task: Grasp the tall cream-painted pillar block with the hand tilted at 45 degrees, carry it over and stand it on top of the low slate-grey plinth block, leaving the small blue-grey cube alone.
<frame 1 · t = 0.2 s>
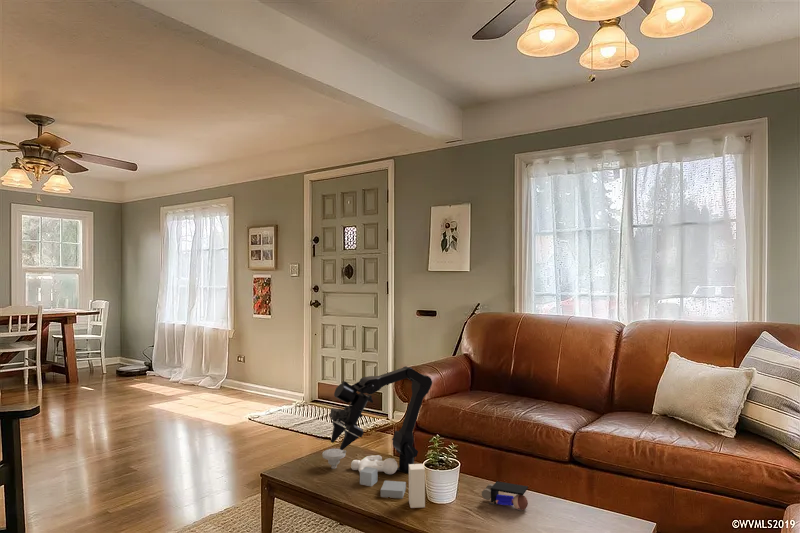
hand: (336, 446, 190), 15 cm above the table, tool tilted 30°, fingers open, 9 cm apart
pillar: (416, 504, 173), on the table
figure: (374, 472, 203), on the table
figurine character: (505, 506, 172), on the table
showerhead: (334, 468, 207), on the table
plinth: (393, 493, 183), on the table
cube: (368, 483, 191), on the table
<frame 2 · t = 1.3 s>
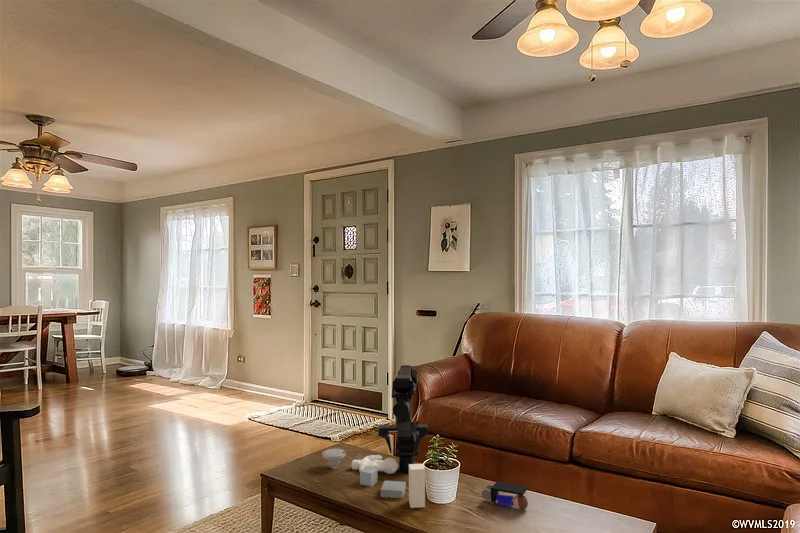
hand: (403, 453, 187), 13 cm above the table, tool pointing down, fingers open, 9 cm apart
nothing on the table moved.
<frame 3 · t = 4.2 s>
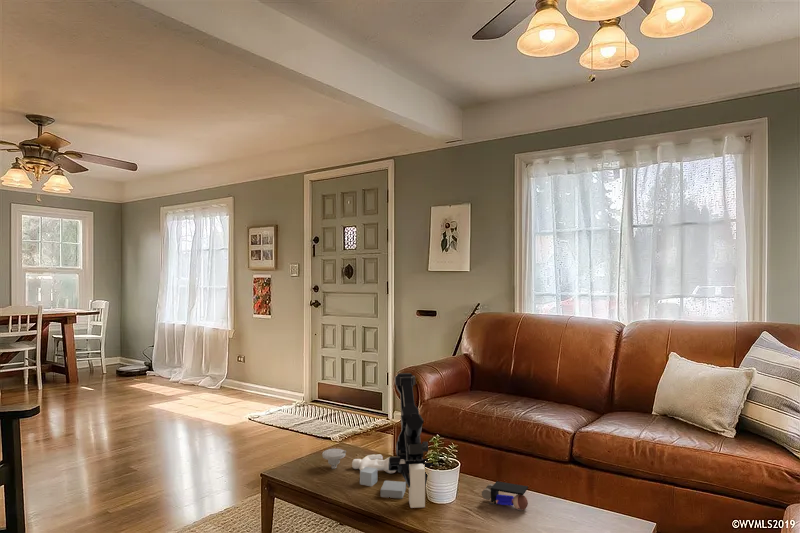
hand: (417, 486, 172), 7 cm above the table, tool tilted 45°, fingers closed on pillar, 5 cm apart
pillar: (416, 504, 173), on the table, touching gripper
when the fingers open (10 cm above the table, at t = 7.0 s): pillar drops 1 cm, resting on plinth.
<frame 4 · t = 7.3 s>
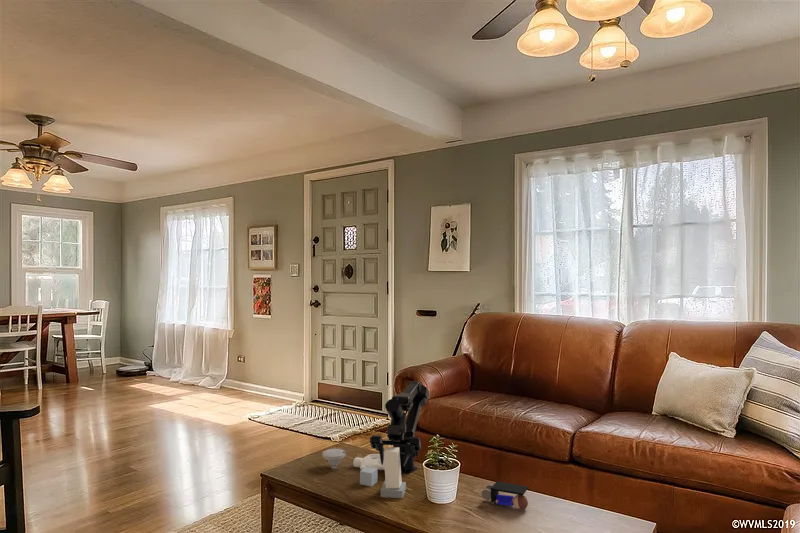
hand: (392, 465, 181), 11 cm above the table, tool tilted 45°, fingers open, 8 cm apart
pillar: (393, 485, 183), point 3 cm above the table, touching plinth
plinth: (393, 494, 183), on the table, touching pillar
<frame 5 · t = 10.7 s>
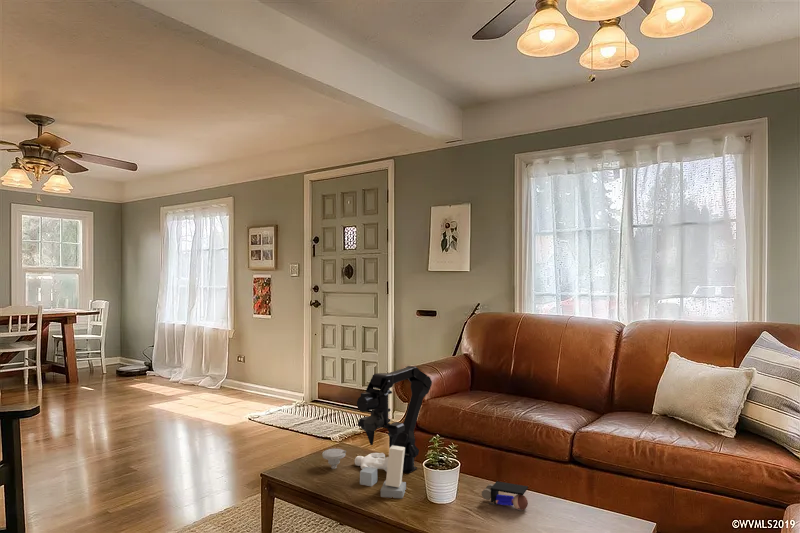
hand: (381, 447, 193), 13 cm above the table, tool pointing down, fingers open, 9 cm apart
figure: (376, 469, 206), on the table
at the end: pillar inside the target area on the plinth (0.2 cm from its centre), point 3.3 cm above the plinth's base; pillar tilted 5°; the gripper is holding nothing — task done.
